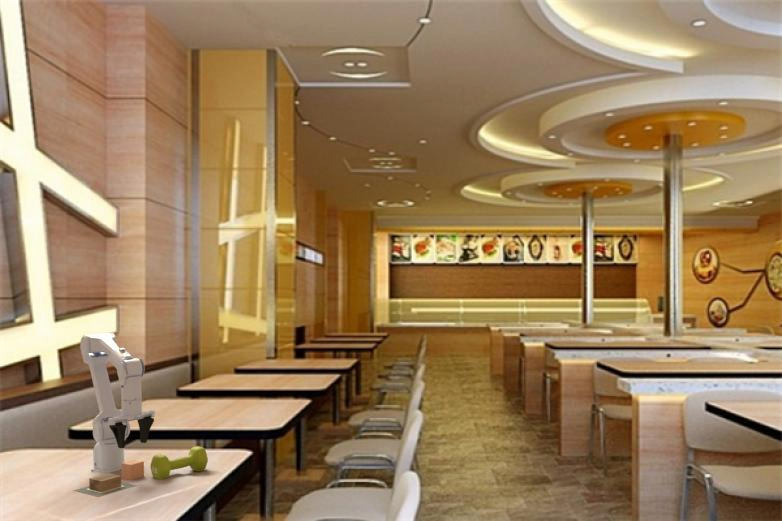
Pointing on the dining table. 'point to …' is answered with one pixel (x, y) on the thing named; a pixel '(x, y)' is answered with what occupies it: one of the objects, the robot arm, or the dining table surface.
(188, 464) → the dumbbell
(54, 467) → the dining table surface
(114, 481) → the base block
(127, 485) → the grey square base plate
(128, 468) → the top block
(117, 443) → the robot arm
